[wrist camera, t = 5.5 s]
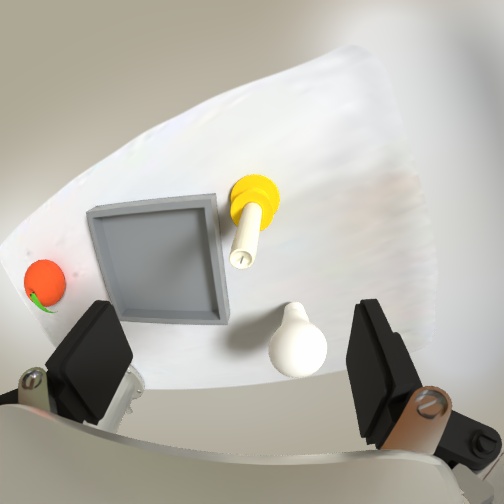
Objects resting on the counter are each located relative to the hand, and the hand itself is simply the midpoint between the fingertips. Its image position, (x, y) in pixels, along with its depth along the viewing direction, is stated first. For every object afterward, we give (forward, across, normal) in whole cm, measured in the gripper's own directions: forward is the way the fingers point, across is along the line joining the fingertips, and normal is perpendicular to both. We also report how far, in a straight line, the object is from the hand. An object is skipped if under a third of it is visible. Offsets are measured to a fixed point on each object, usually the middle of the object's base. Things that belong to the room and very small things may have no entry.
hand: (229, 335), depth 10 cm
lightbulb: (+22, -4, +15) cm, 27 cm away
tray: (+22, +12, +8) cm, 26 cm away
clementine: (+22, +32, +10) cm, 39 cm away
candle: (+22, 0, +1) cm, 22 cm away
